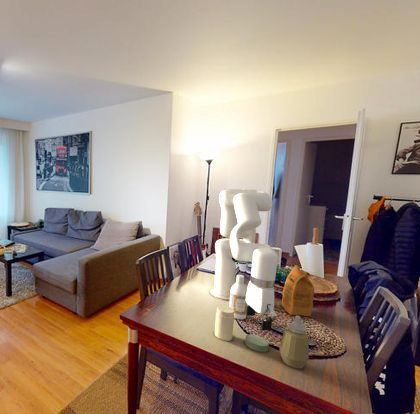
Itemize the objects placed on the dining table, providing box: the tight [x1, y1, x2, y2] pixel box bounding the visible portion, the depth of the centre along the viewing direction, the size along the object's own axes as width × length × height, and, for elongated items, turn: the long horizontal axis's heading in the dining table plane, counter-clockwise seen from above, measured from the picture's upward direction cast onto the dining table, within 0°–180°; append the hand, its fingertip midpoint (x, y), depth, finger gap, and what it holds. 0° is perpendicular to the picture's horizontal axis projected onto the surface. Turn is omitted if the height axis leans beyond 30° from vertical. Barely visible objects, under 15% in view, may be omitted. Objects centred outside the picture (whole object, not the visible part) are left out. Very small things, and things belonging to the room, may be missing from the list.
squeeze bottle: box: [279, 315, 310, 369], centre depth 97 cm, size 8×8×18 cm
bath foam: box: [228, 274, 248, 320], centre depth 128 cm, size 7×7×20 cm
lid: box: [244, 333, 270, 353], centre depth 108 cm, size 8×8×2 cm
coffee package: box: [281, 264, 315, 317], centre depth 132 cm, size 10×12×22 cm
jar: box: [214, 304, 235, 341], centre depth 113 cm, size 6×6×12 cm
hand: (257, 322), depth 107 cm, fingers open, 9 cm apart
